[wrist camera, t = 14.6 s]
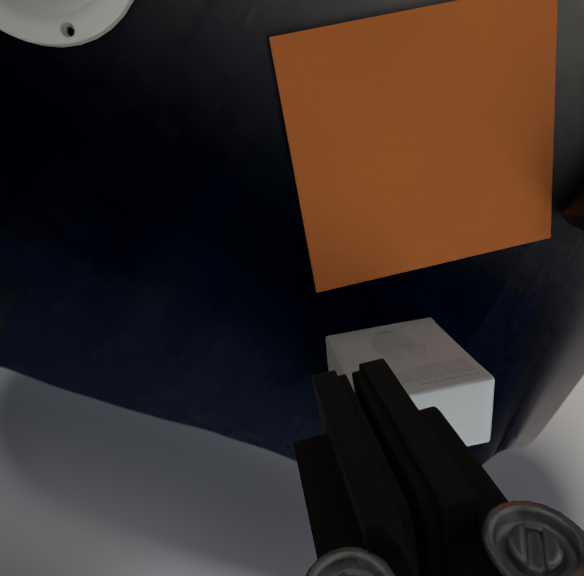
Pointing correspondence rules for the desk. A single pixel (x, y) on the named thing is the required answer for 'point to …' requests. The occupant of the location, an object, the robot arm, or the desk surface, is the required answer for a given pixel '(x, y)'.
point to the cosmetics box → (423, 371)
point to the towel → (420, 134)
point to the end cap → (576, 210)
